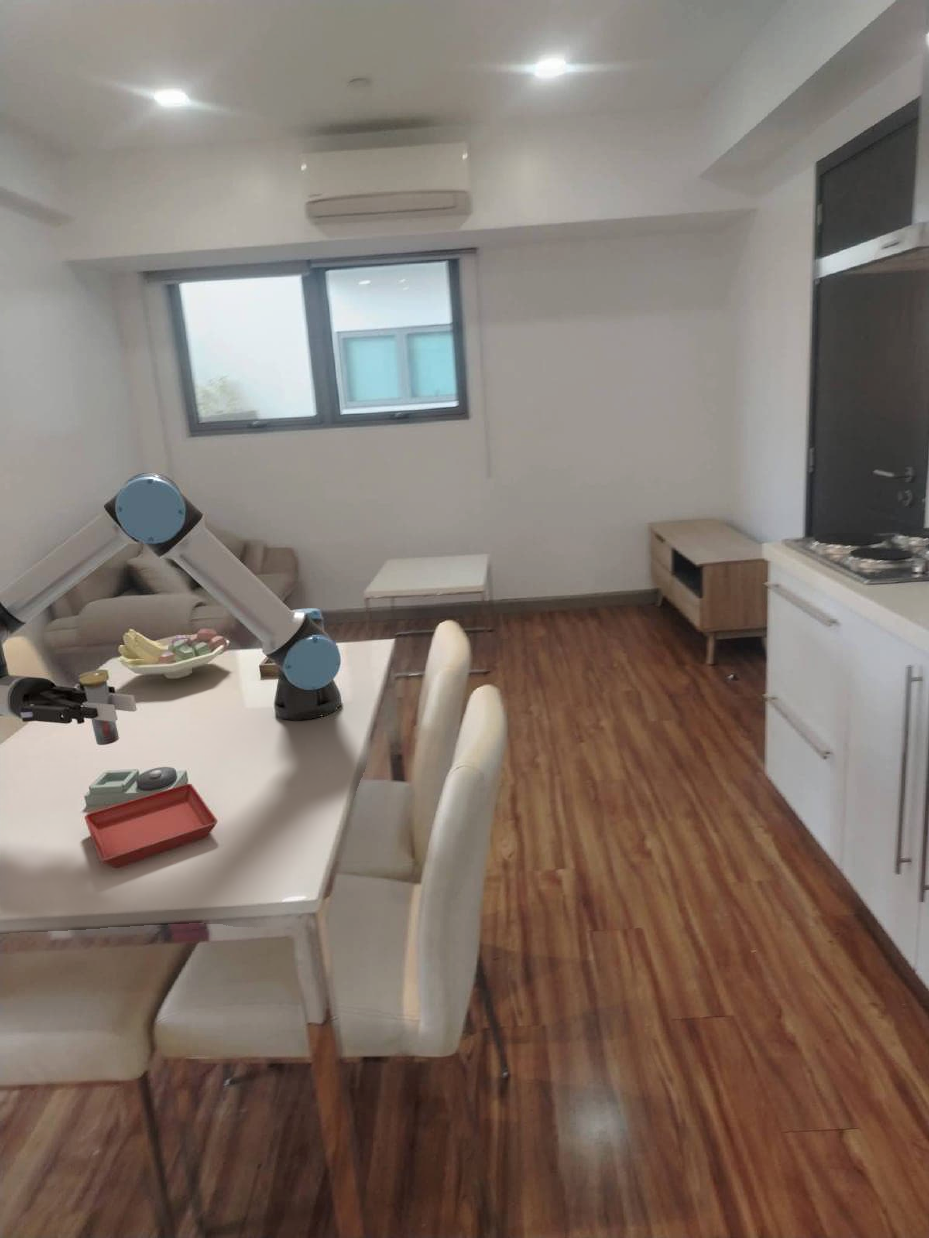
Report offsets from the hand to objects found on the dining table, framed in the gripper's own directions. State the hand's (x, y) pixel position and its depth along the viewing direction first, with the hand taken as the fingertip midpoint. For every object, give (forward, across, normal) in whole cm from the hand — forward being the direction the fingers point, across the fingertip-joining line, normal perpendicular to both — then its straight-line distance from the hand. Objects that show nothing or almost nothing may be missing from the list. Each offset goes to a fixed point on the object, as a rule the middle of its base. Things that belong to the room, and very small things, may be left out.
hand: (123, 708), depth 133 cm
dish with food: (-50, -63, -21) cm, 83 cm away
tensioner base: (-9, -7, -20) cm, 23 cm away
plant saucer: (+5, +4, -21) cm, 22 cm away
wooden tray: (-21, -77, -20) cm, 82 cm away
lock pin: (-6, 0, -6) cm, 9 cm away
